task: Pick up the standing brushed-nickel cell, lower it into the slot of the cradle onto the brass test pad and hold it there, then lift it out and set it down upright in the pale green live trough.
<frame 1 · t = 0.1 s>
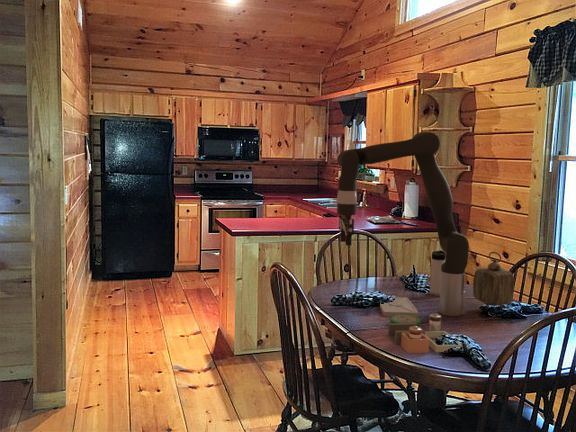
hand: (345, 243, 210), 29 cm above the table, tool pointing down, fingers open, 8 cm apart
envelope: (396, 309, 227), on the table
test pad: (405, 334, 187), point 2 cm above the table, slide at 0.0 cm
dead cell: (414, 348, 178), point 1 cm above the table, touching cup
travel mug: (436, 294, 249), on the table
cradle: (405, 341, 187), on the table
trough: (440, 345, 183), on the table
cell: (434, 334, 194), on the table
tape roll: (405, 326, 204), on the table
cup: (414, 350, 178), on the table
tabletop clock: (490, 311, 224), on the table
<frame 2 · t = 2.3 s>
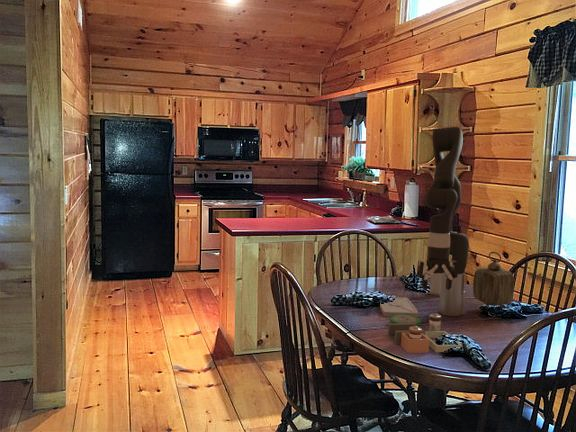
hand: (436, 289, 192), 17 cm above the table, tool pointing down, fingers open, 8 cm apart
nothing on the table moved.
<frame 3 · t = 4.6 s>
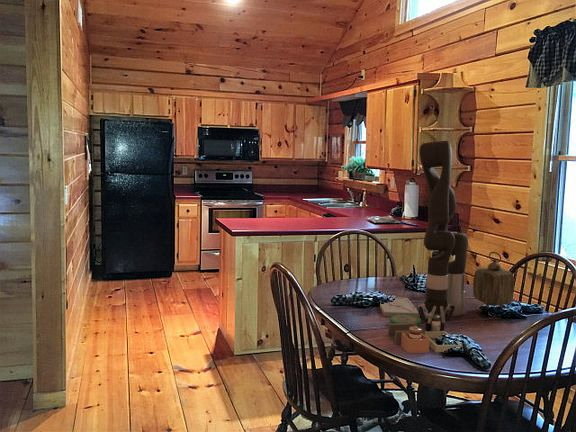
hand: (434, 332, 194), 1 cm above the table, tool pointing down, fingers closed on cell, 4 cm apart
cell: (434, 334, 194), on the table, touching gripper
everything else where it was.
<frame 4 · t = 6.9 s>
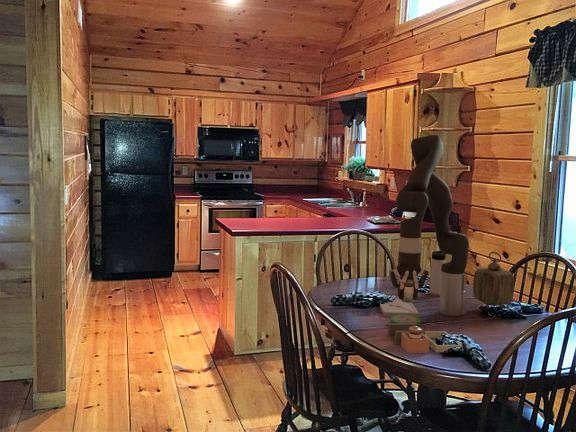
hand: (407, 299, 185), 15 cm above the table, tool pointing down, fingers closed on cell, 4 cm apart
cell: (407, 301, 185), point 14 cm above the table, touching gripper
everything else where it was.
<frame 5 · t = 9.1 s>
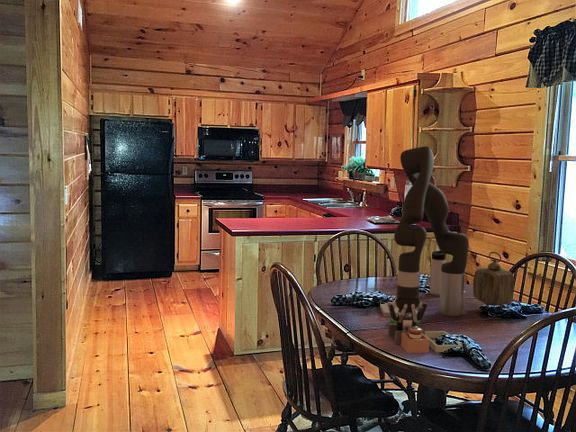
hand: (406, 331, 186), 3 cm above the table, tool pointing down, fingers closed on cell, 4 cm apart
cell: (406, 333, 186), point 3 cm above the table, touching gripper
everything else where it was.
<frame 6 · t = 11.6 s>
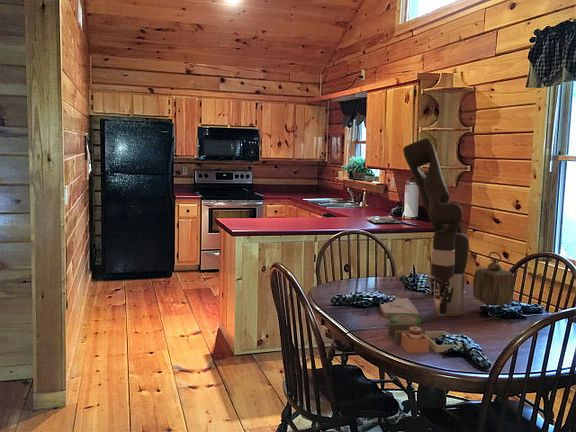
hand: (440, 311, 183), 12 cm above the table, tool pointing down, fingers closed on cell, 4 cm apart
cell: (440, 313, 183), point 11 cm above the table, touching gripper
when the fingers open (2 cm above the table, at t = 13.6 s): cell drops 1 cm, resting on trough.
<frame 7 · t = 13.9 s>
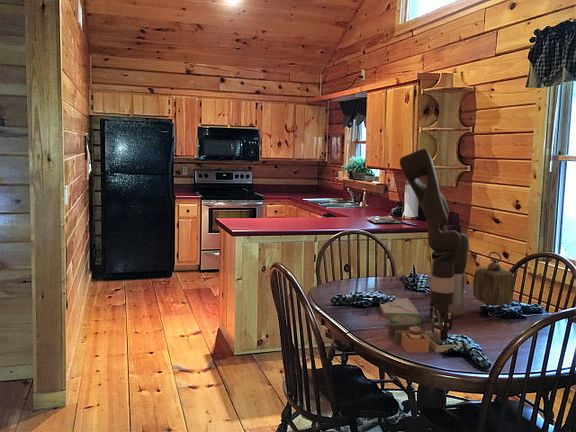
hand: (439, 336, 184), 3 cm above the table, tool pointing down, fingers open, 6 cm apart
cell: (439, 342, 184), point 1 cm above the table, touching trough
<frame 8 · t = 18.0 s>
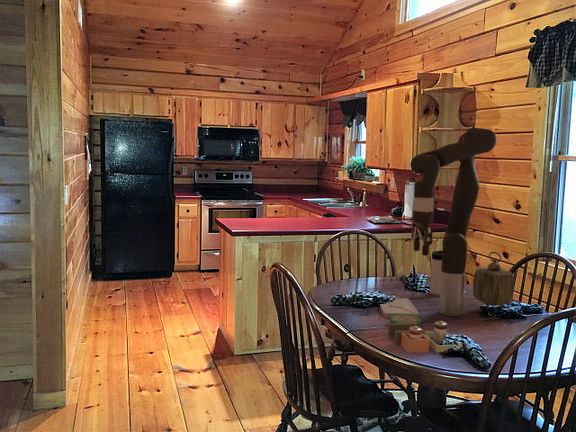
hand: (420, 253, 199), 28 cm above the table, tool pointing down, fingers open, 8 cm apart
at the end: cell inside the target area on the trough (1.1 cm from its centre), point 0.5 cm above the trough's base; cell tilted 1°; the gripper is holding nothing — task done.
